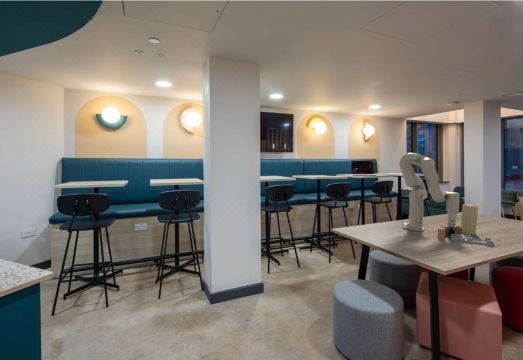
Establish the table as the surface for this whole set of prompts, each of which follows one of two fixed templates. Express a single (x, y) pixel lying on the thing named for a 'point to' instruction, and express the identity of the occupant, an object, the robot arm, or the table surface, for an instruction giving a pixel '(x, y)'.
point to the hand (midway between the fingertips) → (451, 234)
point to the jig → (470, 240)
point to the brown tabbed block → (456, 230)
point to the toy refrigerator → (469, 218)
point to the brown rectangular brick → (441, 233)
